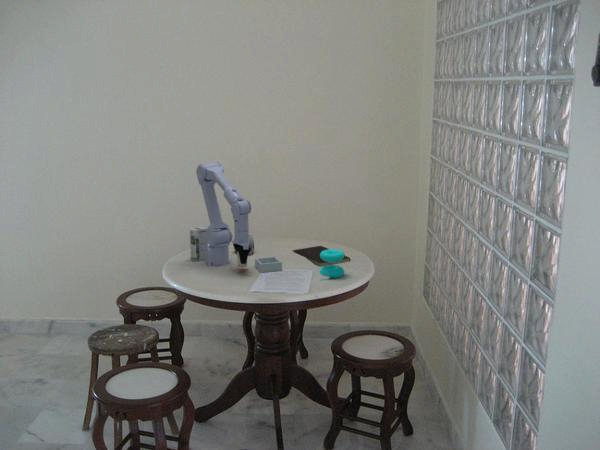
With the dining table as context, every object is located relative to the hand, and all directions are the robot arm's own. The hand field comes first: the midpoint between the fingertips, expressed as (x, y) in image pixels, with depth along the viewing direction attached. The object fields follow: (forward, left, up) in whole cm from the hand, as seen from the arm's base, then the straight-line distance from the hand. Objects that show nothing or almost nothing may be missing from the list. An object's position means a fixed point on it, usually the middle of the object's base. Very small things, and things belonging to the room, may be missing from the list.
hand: (242, 262), depth 271 cm
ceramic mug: (+9, +31, -5) cm, 32 cm away
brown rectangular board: (+6, 0, -5) cm, 8 cm away
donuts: (+34, -14, -5) cm, 37 cm away
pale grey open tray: (+11, 0, -4) cm, 12 cm away
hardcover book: (+39, +12, -6) cm, 41 cm away
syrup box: (-13, +26, -5) cm, 29 cm away
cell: (0, 0, -2) cm, 2 cm away
